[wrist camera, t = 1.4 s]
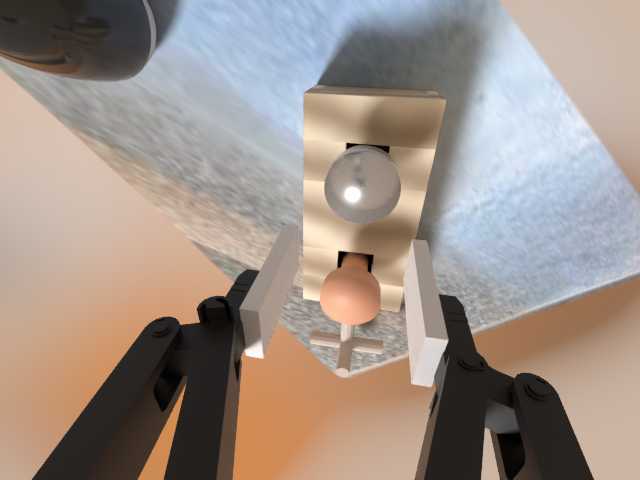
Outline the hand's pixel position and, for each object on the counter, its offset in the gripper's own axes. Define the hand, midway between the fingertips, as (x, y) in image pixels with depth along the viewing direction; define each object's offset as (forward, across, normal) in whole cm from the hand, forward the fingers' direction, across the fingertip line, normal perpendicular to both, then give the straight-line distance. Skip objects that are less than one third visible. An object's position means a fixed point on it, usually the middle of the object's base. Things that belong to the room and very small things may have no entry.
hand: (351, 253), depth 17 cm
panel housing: (+21, 0, -6) cm, 22 cm away
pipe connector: (+21, 0, -26) cm, 33 cm away
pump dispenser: (+21, -26, +11) cm, 35 cm away
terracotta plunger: (+16, 0, -12) cm, 20 cm away
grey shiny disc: (+16, 0, 0) cm, 16 cm away
